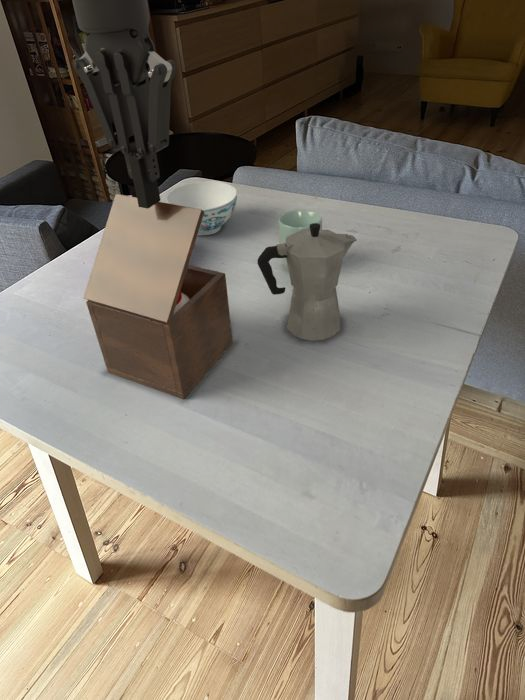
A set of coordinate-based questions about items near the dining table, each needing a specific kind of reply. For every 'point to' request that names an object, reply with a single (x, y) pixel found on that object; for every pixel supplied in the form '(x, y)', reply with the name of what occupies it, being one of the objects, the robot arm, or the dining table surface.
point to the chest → (168, 336)
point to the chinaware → (206, 202)
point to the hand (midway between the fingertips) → (149, 203)
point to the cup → (296, 224)
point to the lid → (144, 257)
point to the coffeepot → (310, 279)
